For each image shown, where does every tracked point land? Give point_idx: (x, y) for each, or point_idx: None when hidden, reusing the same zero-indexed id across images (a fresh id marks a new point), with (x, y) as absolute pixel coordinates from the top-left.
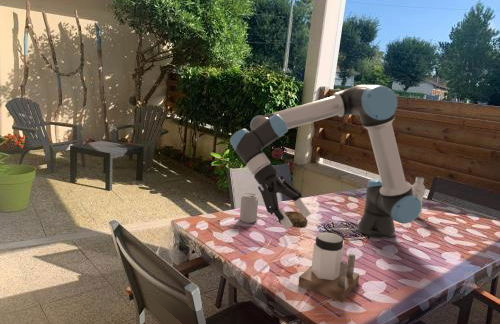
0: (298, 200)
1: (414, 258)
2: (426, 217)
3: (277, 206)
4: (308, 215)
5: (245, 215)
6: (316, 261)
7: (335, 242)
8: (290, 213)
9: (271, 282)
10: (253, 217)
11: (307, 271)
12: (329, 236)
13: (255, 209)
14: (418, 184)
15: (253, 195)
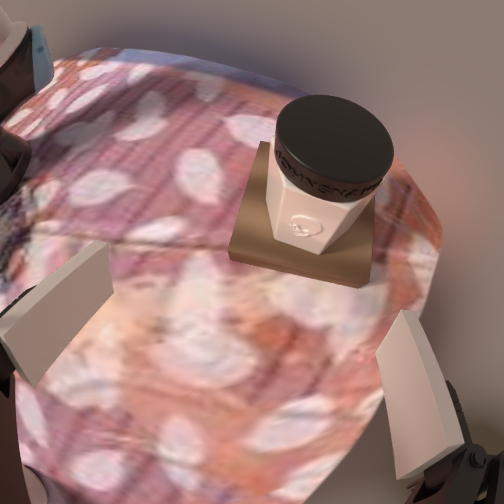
0: (17, 341)
1: (106, 97)
2: None
3: (470, 469)
4: (108, 261)
5: (36, 500)
6: (351, 220)
7: (372, 115)
8: None
9: (375, 360)
10: (27, 478)
11: (324, 266)
12: (328, 132)
13: None
14: None
15: None
